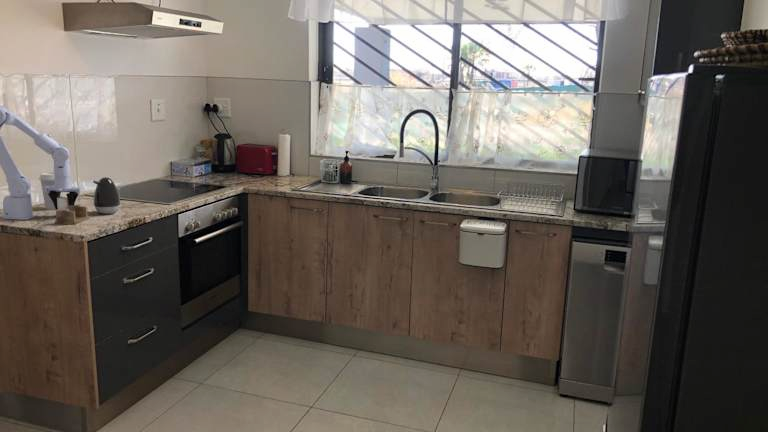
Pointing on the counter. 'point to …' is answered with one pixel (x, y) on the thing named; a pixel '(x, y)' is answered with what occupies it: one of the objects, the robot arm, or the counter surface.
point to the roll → (62, 203)
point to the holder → (72, 215)
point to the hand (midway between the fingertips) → (64, 209)
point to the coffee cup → (48, 180)
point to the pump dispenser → (106, 196)
